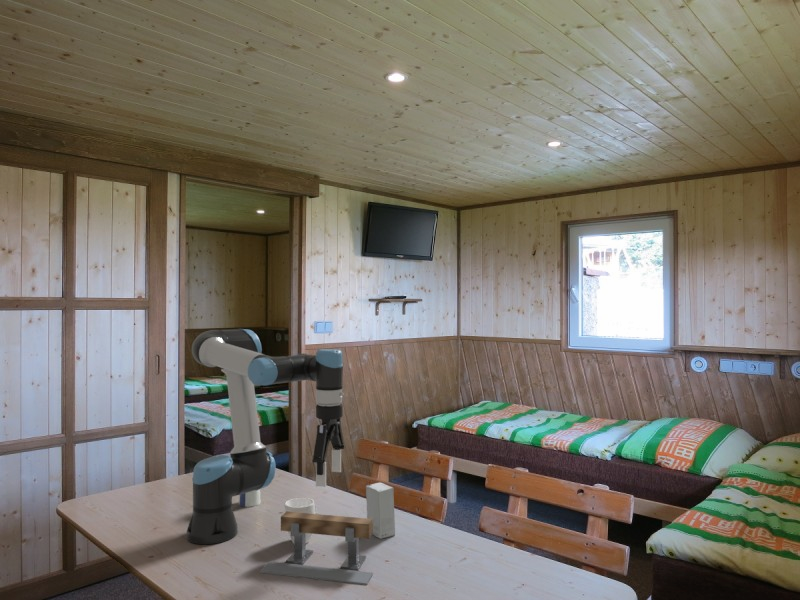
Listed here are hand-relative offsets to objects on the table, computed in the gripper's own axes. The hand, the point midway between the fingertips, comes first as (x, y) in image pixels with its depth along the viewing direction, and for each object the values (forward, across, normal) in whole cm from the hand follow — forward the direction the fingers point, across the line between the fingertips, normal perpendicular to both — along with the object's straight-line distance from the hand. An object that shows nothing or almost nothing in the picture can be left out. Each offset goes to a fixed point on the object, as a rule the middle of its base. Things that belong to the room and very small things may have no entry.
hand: (329, 478), depth 162 cm
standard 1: (+23, -1, +8) cm, 24 cm away
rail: (+15, -1, 0) cm, 15 cm away
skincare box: (+23, +21, -10) cm, 33 cm away
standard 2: (+23, -1, -8) cm, 24 cm away
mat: (+23, -9, 0) cm, 24 cm away
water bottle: (+23, +38, +42) cm, 61 cm away
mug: (+23, +11, +12) cm, 28 cm away
